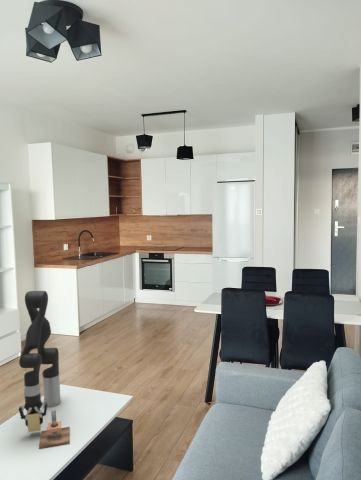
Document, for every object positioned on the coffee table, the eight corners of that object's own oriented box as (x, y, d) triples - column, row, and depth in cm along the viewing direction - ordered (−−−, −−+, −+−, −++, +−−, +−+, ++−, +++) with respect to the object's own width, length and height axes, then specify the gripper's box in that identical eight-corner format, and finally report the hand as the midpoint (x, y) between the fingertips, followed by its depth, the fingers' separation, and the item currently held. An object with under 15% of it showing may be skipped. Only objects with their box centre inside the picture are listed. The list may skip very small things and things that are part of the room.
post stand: (41, 433, 208) (39, 407, 207) (69, 428, 212) (68, 402, 211) (39, 448, 195) (37, 420, 194) (69, 443, 198) (68, 416, 197)
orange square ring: (48, 426, 205) (47, 423, 205) (61, 424, 207) (61, 421, 207) (47, 432, 199) (47, 429, 199) (61, 430, 201) (60, 427, 201)
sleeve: (29, 426, 209) (28, 409, 208) (40, 425, 211) (39, 408, 210) (28, 432, 204) (27, 415, 203) (40, 430, 205) (39, 413, 204)
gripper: (47, 387, 211) (49, 419, 213) (18, 391, 208) (20, 423, 209) (47, 393, 204) (48, 426, 205) (16, 397, 200) (18, 431, 202)
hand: (34, 424), depth 207 cm, fingers closed on sleeve, 5 cm apart
